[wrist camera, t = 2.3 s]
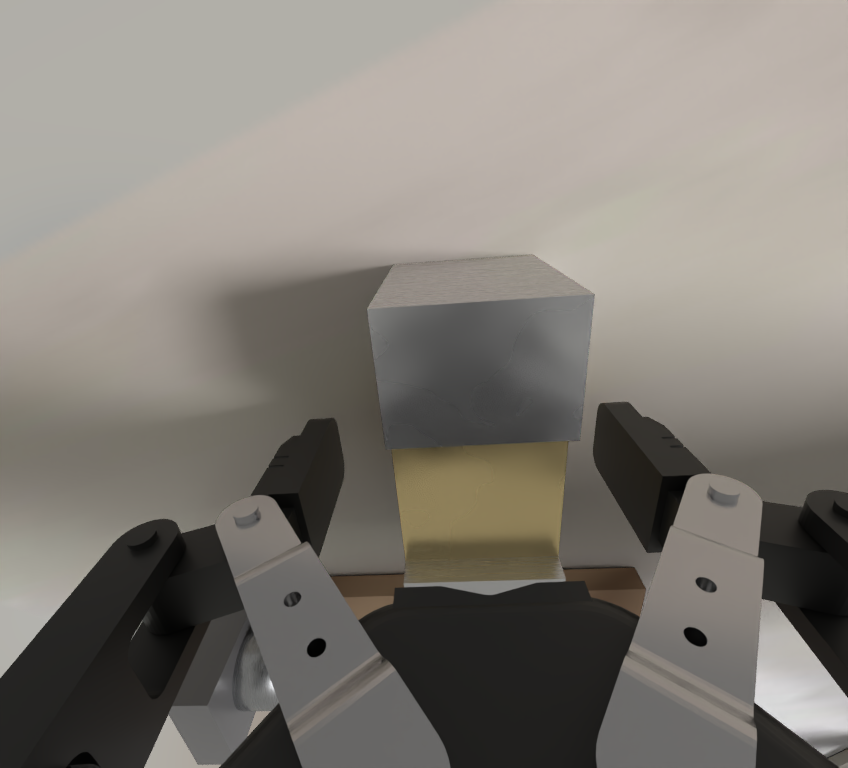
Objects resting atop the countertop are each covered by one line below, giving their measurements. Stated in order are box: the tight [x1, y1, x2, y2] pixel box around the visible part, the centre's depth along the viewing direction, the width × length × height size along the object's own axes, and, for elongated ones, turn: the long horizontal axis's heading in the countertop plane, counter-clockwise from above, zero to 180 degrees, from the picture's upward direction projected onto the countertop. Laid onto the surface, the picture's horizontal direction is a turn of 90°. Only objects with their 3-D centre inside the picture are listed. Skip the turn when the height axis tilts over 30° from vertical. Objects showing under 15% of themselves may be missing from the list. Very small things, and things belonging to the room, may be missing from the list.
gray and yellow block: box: [367, 255, 595, 595], centre depth 12 cm, size 4×10×5 cm, turn 4°
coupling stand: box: [169, 568, 646, 765], centre depth 17 cm, size 21×7×4 cm, turn 94°
